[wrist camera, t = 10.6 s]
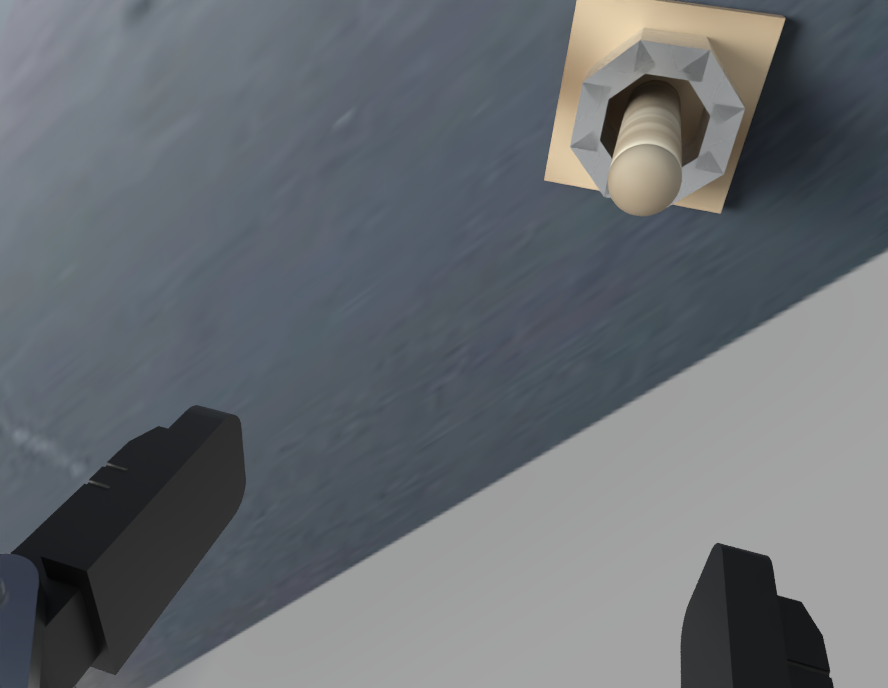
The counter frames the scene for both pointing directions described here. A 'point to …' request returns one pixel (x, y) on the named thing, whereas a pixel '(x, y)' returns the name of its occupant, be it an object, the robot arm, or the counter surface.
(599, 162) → the ring
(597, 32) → the post stand
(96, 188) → the counter surface
